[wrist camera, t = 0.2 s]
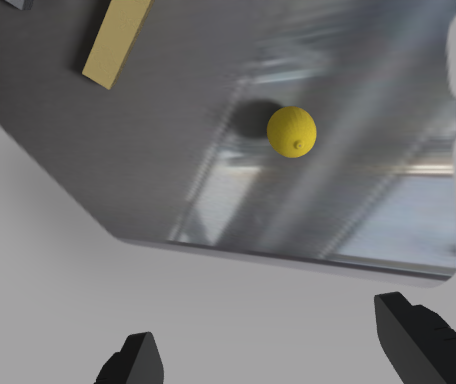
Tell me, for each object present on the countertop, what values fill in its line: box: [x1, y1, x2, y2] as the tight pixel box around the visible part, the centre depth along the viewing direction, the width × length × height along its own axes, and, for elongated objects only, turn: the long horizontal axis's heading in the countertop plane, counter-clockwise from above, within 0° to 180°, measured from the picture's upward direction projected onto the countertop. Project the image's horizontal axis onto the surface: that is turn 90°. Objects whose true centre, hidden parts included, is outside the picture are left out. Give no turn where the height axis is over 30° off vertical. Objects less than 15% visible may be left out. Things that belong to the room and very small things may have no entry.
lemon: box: [267, 106, 316, 158], centre depth 35 cm, size 6×6×8 cm
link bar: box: [82, 0, 155, 90], centre depth 30 cm, size 3×13×3 cm, turn 145°
